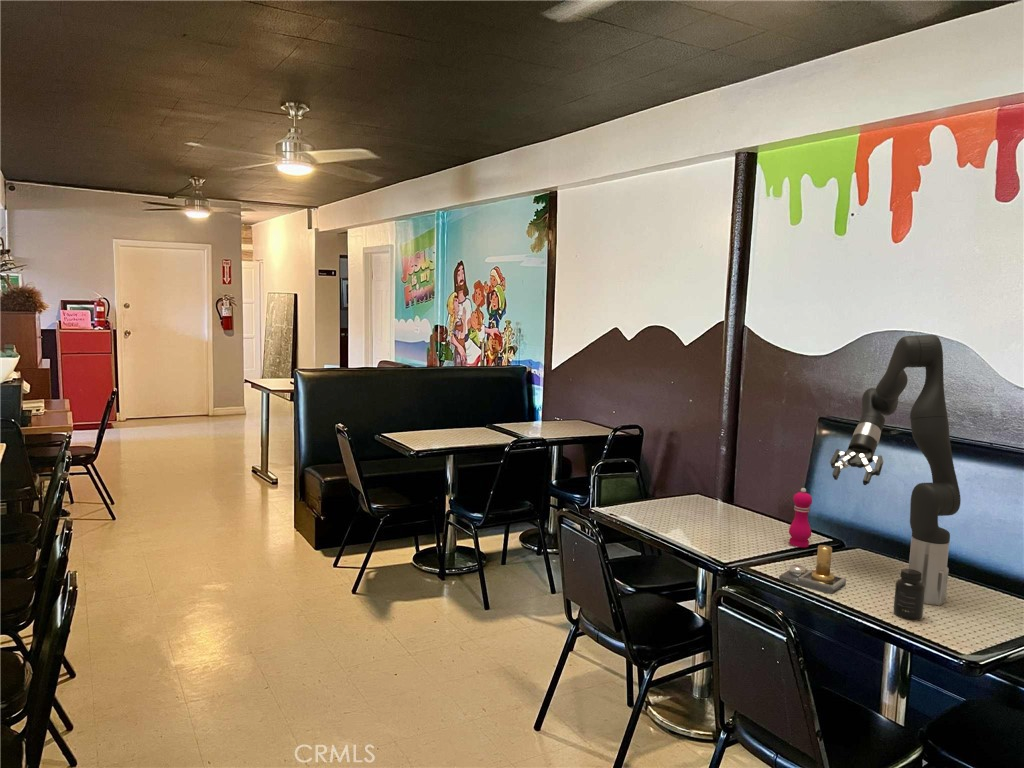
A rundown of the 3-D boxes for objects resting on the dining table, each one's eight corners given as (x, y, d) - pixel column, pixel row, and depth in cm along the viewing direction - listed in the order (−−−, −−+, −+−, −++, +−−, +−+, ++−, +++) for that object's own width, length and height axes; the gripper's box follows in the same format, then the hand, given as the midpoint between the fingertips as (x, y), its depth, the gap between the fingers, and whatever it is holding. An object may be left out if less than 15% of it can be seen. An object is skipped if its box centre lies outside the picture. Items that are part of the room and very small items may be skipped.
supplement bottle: (896, 608, 195) (900, 565, 194) (924, 615, 191) (928, 571, 190) (890, 615, 190) (894, 571, 189) (919, 623, 186) (923, 578, 185)
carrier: (846, 584, 212) (847, 573, 212) (832, 594, 203) (833, 583, 203) (795, 570, 222) (795, 560, 222) (779, 579, 214) (779, 569, 213)
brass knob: (836, 580, 211) (839, 547, 210) (829, 585, 207) (831, 551, 206) (815, 575, 215) (818, 542, 214) (808, 579, 211) (810, 546, 210)
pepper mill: (813, 548, 245) (818, 491, 243) (792, 547, 245) (796, 490, 244) (805, 541, 252) (810, 486, 251) (784, 541, 253) (789, 485, 251)
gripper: (839, 429, 230) (823, 469, 223) (887, 436, 220) (872, 477, 213) (843, 444, 234) (828, 483, 227) (891, 451, 225) (876, 492, 217)
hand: (849, 480), depth 220 cm, fingers open, 8 cm apart
